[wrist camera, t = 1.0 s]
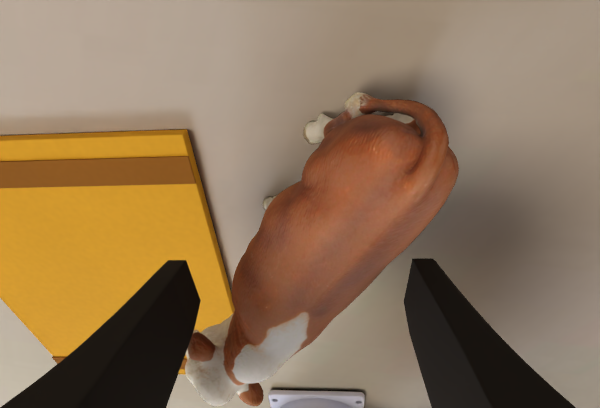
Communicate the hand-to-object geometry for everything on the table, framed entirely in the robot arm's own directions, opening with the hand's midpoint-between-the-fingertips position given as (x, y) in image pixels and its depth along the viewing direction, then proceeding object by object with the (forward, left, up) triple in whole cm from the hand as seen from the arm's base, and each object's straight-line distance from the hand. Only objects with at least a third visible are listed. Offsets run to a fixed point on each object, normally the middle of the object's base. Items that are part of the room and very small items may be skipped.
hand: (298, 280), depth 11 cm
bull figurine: (0, 0, -6) cm, 6 cm away
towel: (-7, +12, -6) cm, 16 cm away
